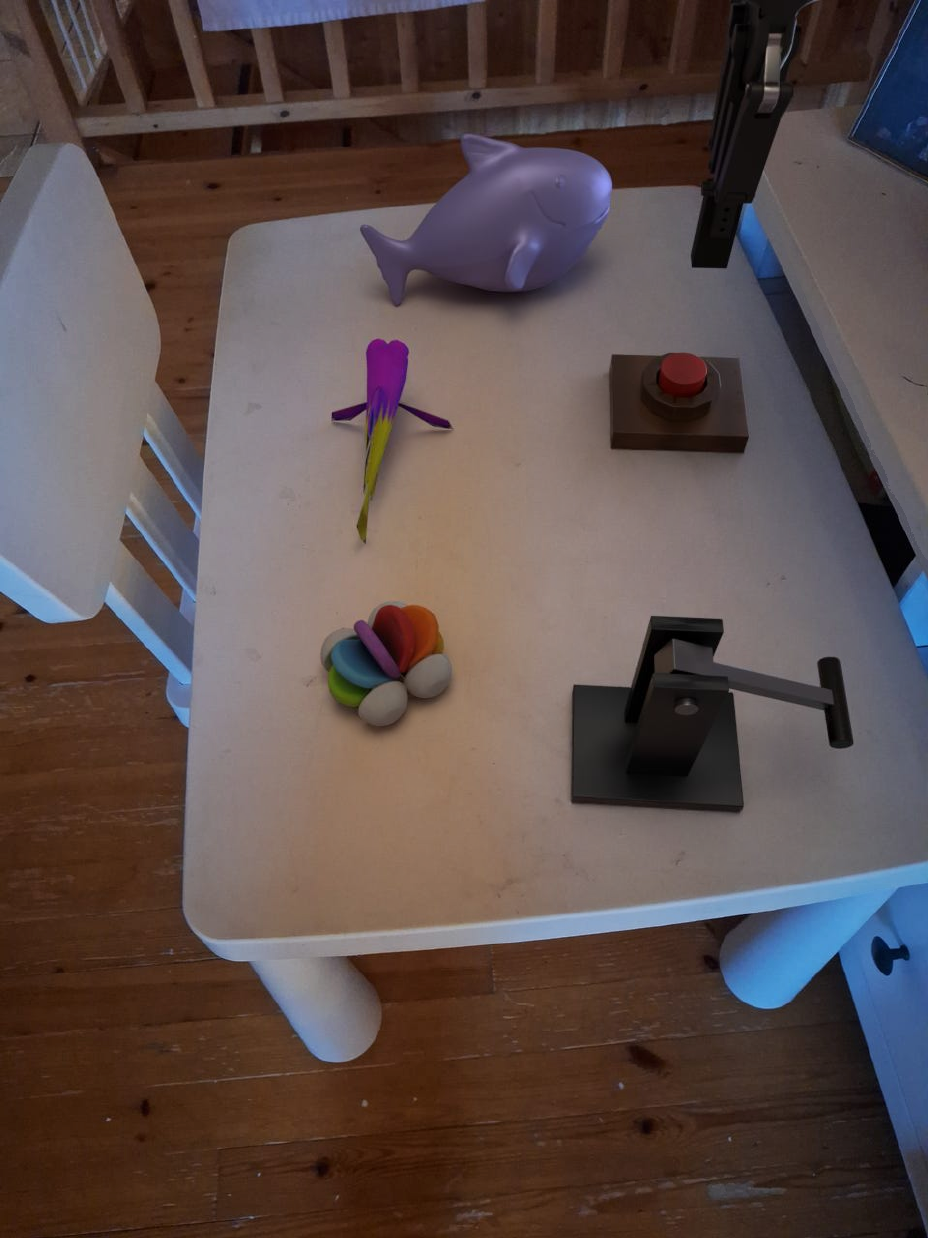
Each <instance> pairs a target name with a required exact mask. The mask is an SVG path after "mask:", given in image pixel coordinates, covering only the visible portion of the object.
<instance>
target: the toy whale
mask: <svg viewBox="0 0 928 1238" xmlns="http://www.w3.org/2000/svg"><path fill="white" fill-rule="evenodd" d="M460 147H461V152H462V155H463V156H464V158H465V160H466V163H467V166H468V170H469V172H468V174H467V175H465V176H464V177H463V178H462V179H460V180H459V181H457V183H456V184H454V185H453V186H452V187H451V188H450V189H449V190H448V191H447V192H446V193H445V194H444V195H443V196H442V197H440V199H439V200H438V201H437V202H436V203H435V204H434V205H433V206H432V207H431V209H430V210H428V212H427V213H426V214H425V216H424V218H423V219H422V220H421V222H420V223H419V224H418V226H417V228H416V229H415V230H414V231H413V233H412V234H411V235H410V236H409V237H408V238H407V239H403V240H400V239H395V238H391V237H389V236H386V235H384V234H382V233H381V232H380V231H378V230H377V229H376V228H374V227H373V226H371V225H369V224H361V225H360V227H359V231H360V234H361V236H362V237H363V239H364V241H365V242H366V244H367V245H368V247H369V249H370V251H371V253H372V254H373V256H374V257H375V261H376V266H377V268H378V269H379V270H380V273H381V277H382V280H384V282H385V283H386V285H387V288H388V292H389V295H390V299H391V302H392V305H394V306H396V307H397V306H400V305H401V303H402V301H403V298H404V294H405V290H406V289H405V288H406V285H407V281H408V277H409V275H410V273H411V272H412V271H415V270H417V271H422V272H425V273H428V274H430V275H432V276H435V277H438V278H439V279H442V280H445V281H448V282H451V283H456V284H460V285H466V286H470V287H473V288H478V289H480V290H483V291H490V292H501V293H504V292H505V293H518V292H527V291H529V292H530V291H534V290H537V289H540V288H543V287H545V286H548V285H550V284H552V283H554V282H555V281H557V280H559V279H560V278H561V277H562V276H563V275H565V274H566V273H567V272H569V271H570V270H571V269H572V268H573V267H574V266H575V264H577V262H578V261H579V260H580V259H581V258H582V257H583V255H584V254H585V253H586V251H587V250H588V248H589V247H590V245H591V243H592V242H593V240H594V239H595V237H596V235H598V233H599V232H600V230H601V229H602V227H603V225H604V223H605V222H606V220H607V218H608V216H609V213H610V210H611V205H610V204H611V196H612V191H613V181H612V178H611V175H610V173H609V171H608V170H607V168H606V167H605V166H604V165H603V164H602V163H601V162H600V161H599V160H597V159H595V158H594V157H592V156H590V155H589V154H587V153H583V152H581V151H579V150H578V151H577V150H573V149H568V148H559V147H521V146H519V145H518V144H516V143H513V142H510V141H505V140H499V139H495V138H491V137H486V136H482V135H478V134H475V133H464V134H463V135H462V136H461V138H460Z"/></svg>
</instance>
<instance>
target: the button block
mask: <svg viewBox="0 0 928 1238" xmlns="http://www.w3.org/2000/svg"><path fill="white" fill-rule="evenodd" d="M674 353H675V352H667V353H665V354H662V355H657V354H655V355H652V354H615V353H613V354H611V357H610V364H609V369H608V373H609V375H608V376H609V378H608V379H609V436H610V439H609V441H610V443H609V444H610V449H611V450H614V449H615V450H637V451H664V452H665V451H667V452H695V453H696V452H698V453H724V454H725V453H728V454H729V453H730V454H744V453H745V450H746V449H747V444H748V442H749V439H750V429H749V421H748V414H747V413H748V412H747V406H746V398H745V389H744V382H743V372H742V366H741V358H740V357H730V356H729V357H728V356H725V357H724V356H698V357H699V358H701V359H702V360H703V361H704V363H705V364H706V367H707V373H706V377H705V381H704V385H703V388H702V390H701V391H700V392H699V393H698V394H697V395H695V396H693V397H690V398H684V397H674V396H671V395H669V394H667V393H665V392H664V391H663V390H662V389H661V387H660V385H659V375H660V371H661V366H662V362H663V361H664V359H665V358H666V357H668V356H669V355H672V354H674ZM689 353H690V352H689ZM690 354H692V353H690Z"/></svg>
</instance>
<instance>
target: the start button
mask: <svg viewBox="0 0 928 1238" xmlns="http://www.w3.org/2000/svg"><path fill="white" fill-rule="evenodd" d="M673 353H674V354H672V355H669V356H668V357H666V358H665V359H664V361H663V362H662V366H661V371H660V375H659V385H660V387H661V389H662V390H663V391H664V392H665V393H667V394H669V395H671V396H674V397H684V398H690V397H693V396H695V395H697V394H698V393H699V392H700V391H701V390H702V388H703V385H704V381H705V377H706V373H707V367H706V364H705V363H704V361H703V360H702V359H701V358H699V357H700V356H698V355H695V354H693V353H691V354H690V352H673Z"/></svg>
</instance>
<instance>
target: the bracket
mask: <svg viewBox="0 0 928 1238" xmlns="http://www.w3.org/2000/svg"><path fill="white" fill-rule="evenodd" d="M724 629H725V628H724V619H723V618H713V617H712V618H711V617H710V618H709V617H691V616H689V617H687V616H669V615H668V616H665V615H650V618H649V621H648V625H647V628H646V633H645V636H644V639H643V642H642V647H641V650H640V653H639V656H638V660H637V663H636V668H635V671H634V675H633V677H632V678H633V679H632V682H631V686H613V685H591V684H573V686H572V692H571V693H572V695H571V697H572V698H571V706H572V707H571V770H570V771H571V773H570V774H571V775H570V776H571V777H570V778H571V779H570V780H571V782H570V783H571V785H570V802H571V803H572V804H586V805H587V804H588V805H601V806H602V805H603V806H619V807H621V806H622V807H638V808H656V809H671V810H673V809H674V810H687V811H688V810H691V811H705V812H706V811H707V812H722V813H723V812H724V813H741V812H742V810H743V808H744V807H745V802H744V794H743V793H744V792H743V781H742V772H741V771H742V770H741V760H740V749H739V739H738V737H739V736H738V729H737V728H738V727H737V717H736V707H735V694H734V692H732V691H730V689H729V683H728V676H710V675H690V674H669V673H655V664H654V655H655V654H656V653H657V652H658V651H659V650H660V649H661V648H662V647H663V646H665V645H666V644H667V643H668V642H669V641H670V640H671V639H673V638H674V639H678V640H683V641H687V642H691V643H695V644H699V645H703V646H707V647H711V648H712V651H713V658H714V657H715V654H716V652H717V649H718V647H719V645H720V643H721V640H722V638H723V636H724V633H725V630H724Z"/></svg>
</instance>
